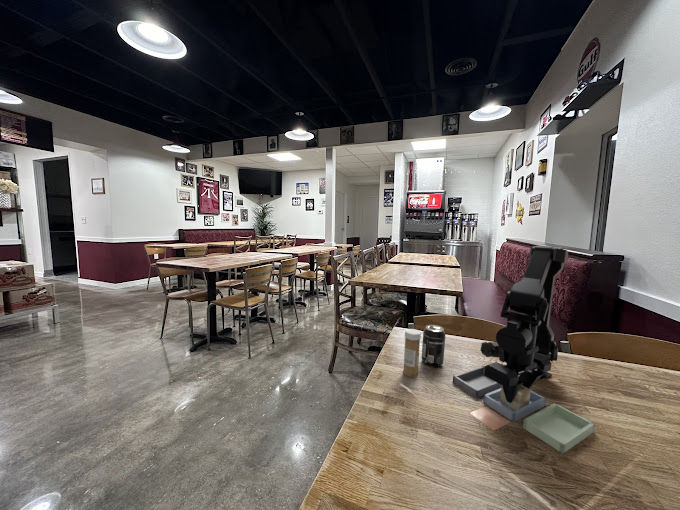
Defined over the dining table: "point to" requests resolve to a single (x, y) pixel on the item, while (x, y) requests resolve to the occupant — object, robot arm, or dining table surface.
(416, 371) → the sprinkles bottle
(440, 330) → the beverage can
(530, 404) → the slate tray
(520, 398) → the letter cube
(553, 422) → the green tray
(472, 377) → the charcoal tray
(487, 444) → the dining table surface
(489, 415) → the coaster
